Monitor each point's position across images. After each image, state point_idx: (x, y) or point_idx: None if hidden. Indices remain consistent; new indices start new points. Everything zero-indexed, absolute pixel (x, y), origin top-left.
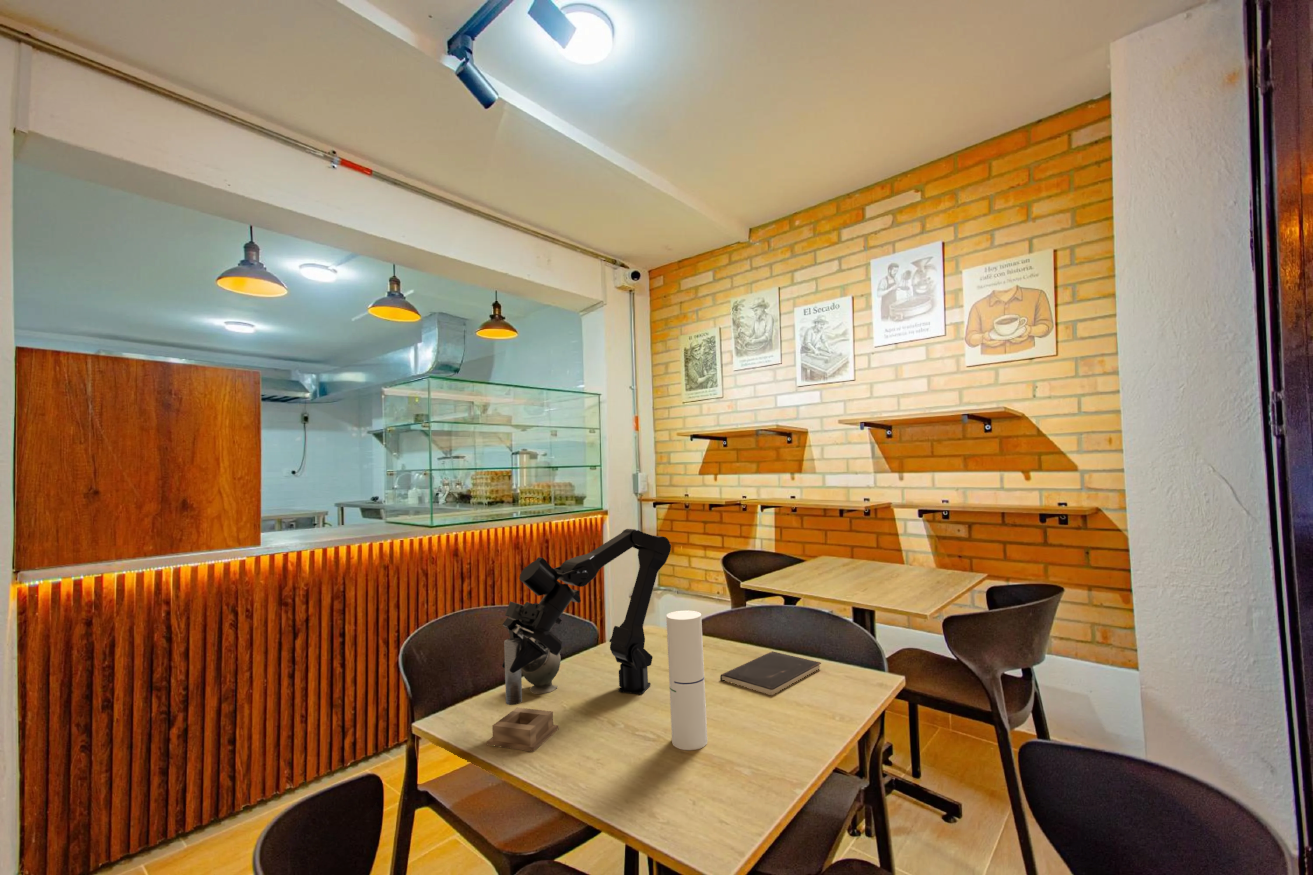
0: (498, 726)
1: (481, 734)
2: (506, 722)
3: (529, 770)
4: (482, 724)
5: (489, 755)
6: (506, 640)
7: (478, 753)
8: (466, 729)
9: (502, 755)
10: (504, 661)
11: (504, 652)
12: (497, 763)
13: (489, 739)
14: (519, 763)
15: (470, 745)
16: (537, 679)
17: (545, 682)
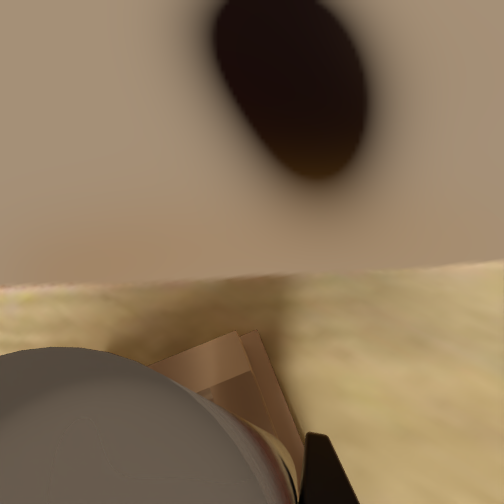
0: (206, 342)
1: (356, 367)
2: (206, 385)
3: (10, 324)
4: (448, 424)
5: (189, 300)
6: (185, 501)
7: (232, 285)
8: (449, 353)
9: (152, 325)
10: (314, 465)
11: (224, 408)
12: (127, 289)
13: (260, 341)
14: (65, 330)
15: (305, 296)
16: None
17: None
